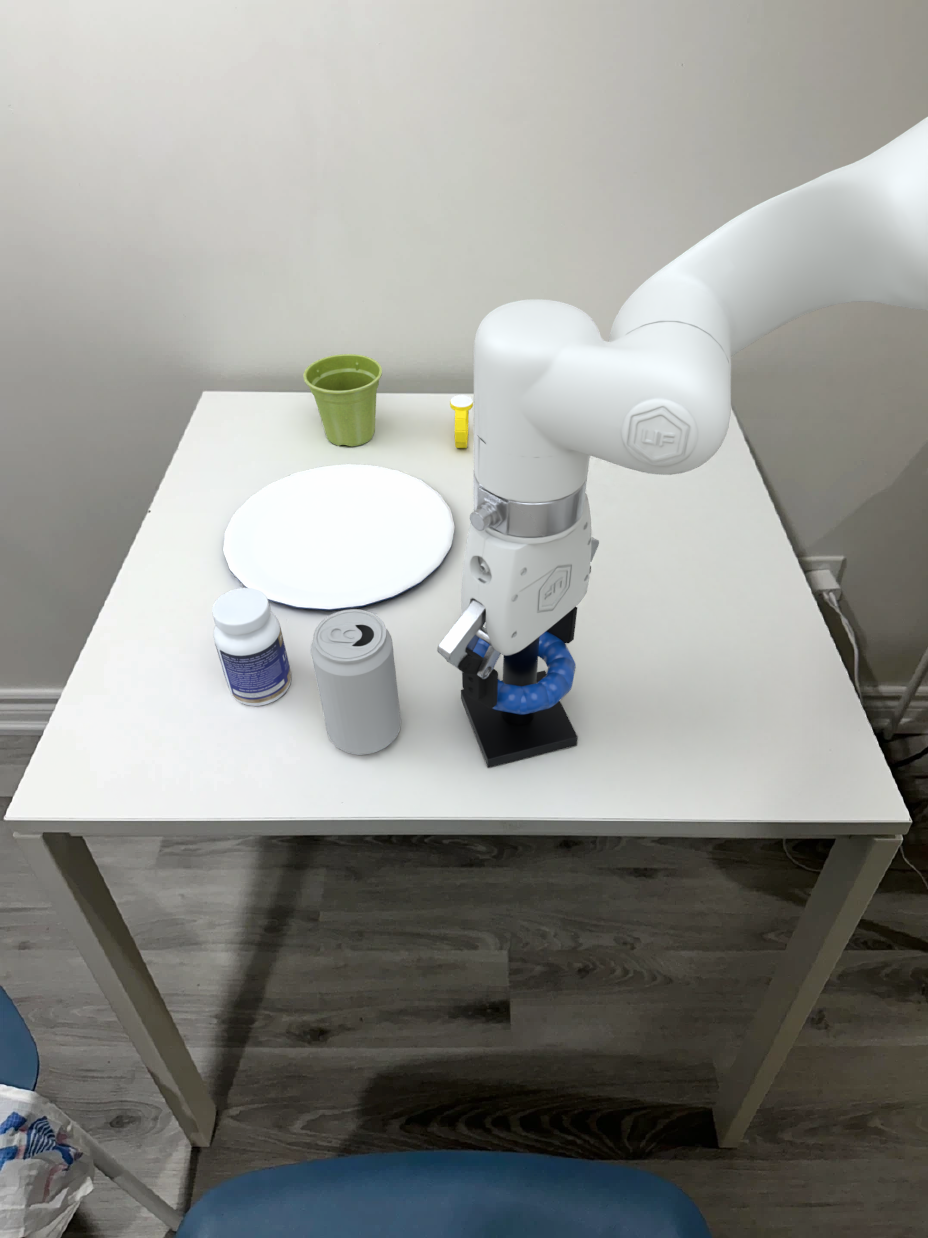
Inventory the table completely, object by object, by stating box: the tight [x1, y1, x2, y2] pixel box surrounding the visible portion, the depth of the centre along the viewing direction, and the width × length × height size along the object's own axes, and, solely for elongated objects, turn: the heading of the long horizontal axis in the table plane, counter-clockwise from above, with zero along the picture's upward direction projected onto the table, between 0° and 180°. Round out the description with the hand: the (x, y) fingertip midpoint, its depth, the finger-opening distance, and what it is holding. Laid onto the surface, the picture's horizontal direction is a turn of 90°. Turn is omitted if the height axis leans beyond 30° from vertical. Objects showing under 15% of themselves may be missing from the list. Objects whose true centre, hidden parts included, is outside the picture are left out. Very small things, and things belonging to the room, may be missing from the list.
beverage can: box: [310, 608, 402, 756], centre depth 70 cm, size 6×6×12 cm
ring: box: [473, 631, 577, 715], centre depth 70 cm, size 9×9×2 cm
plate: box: [222, 463, 456, 611], centre depth 93 cm, size 25×25×1 cm
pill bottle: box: [211, 587, 292, 707], centre depth 74 cm, size 6×6×10 cm
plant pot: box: [302, 353, 383, 447], centre depth 105 cm, size 9×9×9 cm
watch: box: [449, 394, 474, 449], centre depth 104 cm, size 6×3×6 cm, turn 177°
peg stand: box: [460, 636, 579, 769], centre depth 70 cm, size 8×8×11 cm
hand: (519, 664), depth 69 cm, fingers closed on ring, 9 cm apart
